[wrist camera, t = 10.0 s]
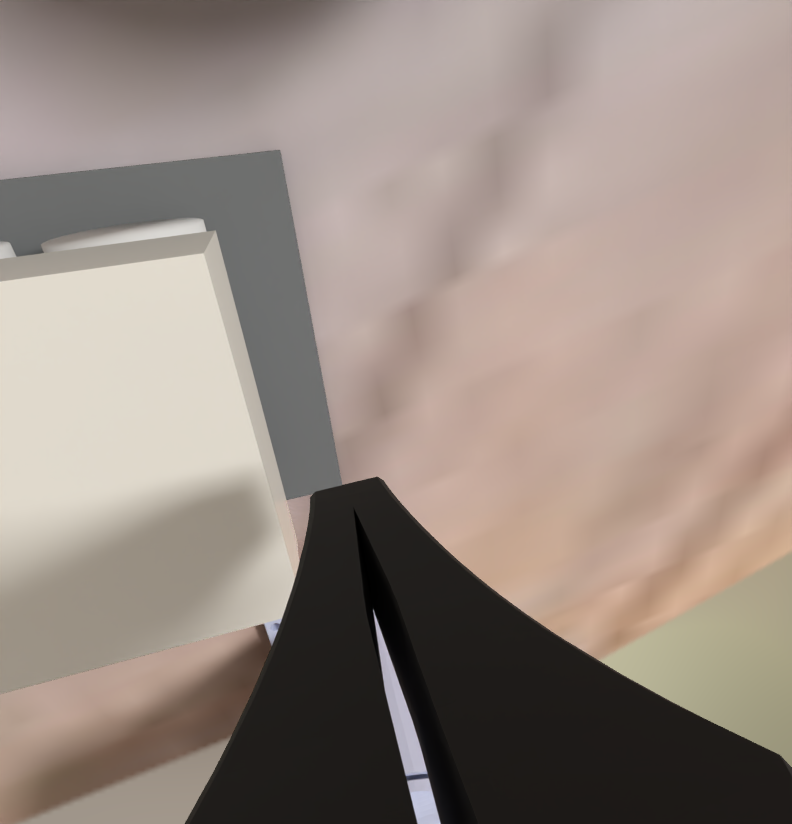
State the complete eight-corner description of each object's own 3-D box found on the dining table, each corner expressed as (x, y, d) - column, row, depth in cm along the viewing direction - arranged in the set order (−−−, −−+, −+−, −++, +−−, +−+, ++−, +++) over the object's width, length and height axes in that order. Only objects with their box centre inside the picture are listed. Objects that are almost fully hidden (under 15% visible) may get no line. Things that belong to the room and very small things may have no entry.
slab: (297, 540, 16) (304, 612, 14) (-32, 620, 15) (-93, 719, 12) (216, 230, 12) (204, 253, 9) (-292, 297, 10) (-485, 349, 7)
